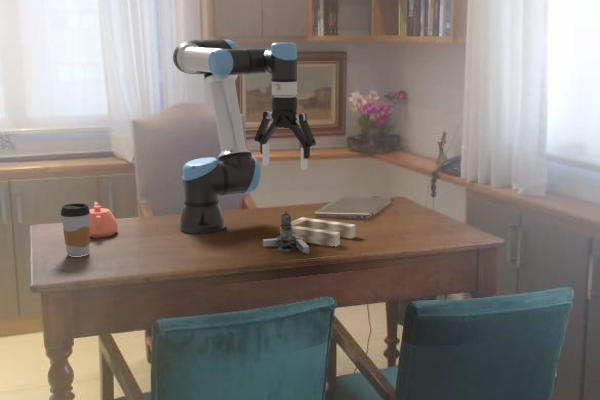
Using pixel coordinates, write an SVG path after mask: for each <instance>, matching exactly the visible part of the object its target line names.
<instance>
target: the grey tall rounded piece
mask: <svg viewBox="0 0 600 400" xmlns="http://www.w3.org/2000/svg"><path fill="white" fill-rule="evenodd" d="M280 219H281V220H280V222H281V223H280V225H279V227H280V226H281V230H280V235H279V236H277V237H276V238H277V239H278V243H279V244H280V245H281V246H278V247H277V250H278V251H279V250H280V251H281V252H292V250H293V251H295V250H294V249H296V248H295V246H293V245H295V244H294V242H295V239H296V237H295V236H292V234H291V226H292V225H291V222H292V221H291V219H292V218H291V214H289V213H288V212H287V210H285V211H284V213H283V214H281V217H280Z"/></svg>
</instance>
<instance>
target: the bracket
mask: <svg viewBox="0 0 600 400" xmlns="http://www.w3.org/2000/svg"><path fill="white" fill-rule="evenodd" d="M291 225H292V226H291V234H292V236H300V237H305V240H306V244H307V243H309V244H314V245H315V244H316V245H320V246H326V245H327V247H333V246H335V247H334V248H336V247H338V246H340V244H341V243H340V241H341V238H344V239H354V238H356V224H355V223H354V224H353V223H347V222H340V221H332V220H325V219H318V218H311V217H310V218H309V217H302V216H301V217H300V218H297V219H294V220H293V221H291ZM279 227H280V231H281V226H280V225H279Z"/></svg>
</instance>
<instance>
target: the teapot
mask: <svg viewBox="0 0 600 400" xmlns="http://www.w3.org/2000/svg"><path fill="white" fill-rule="evenodd" d="M93 205H94V206H93V208H89V211H90V213H89V227H90V237H93V238H92V239H100V238H99V237H102V238H109V237H111V236H114V235H116V233H117V231H118V229H119V228H118V222H117V219H116V218H115V216H114V214H113V213H112V211H111V210H110V209H109V208H104V207H102V206H101V205H99V203H98V202H97V201H94V203H93Z"/></svg>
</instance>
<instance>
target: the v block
mask: <svg viewBox="0 0 600 400" xmlns="http://www.w3.org/2000/svg"><path fill="white" fill-rule="evenodd" d="M295 237H296V239H295V242H294V244H293V245H296V247H297V249H298V250H299V251H300V252H301V251H302V252H303V253H306V254H309V253H310V245H308V244H307V242H306V240H305V237H300V236H295ZM280 246H281V245H280V244H279V243H278V239H277V237H275V238H266V239H265V238H263V239H262V247H264V248H270V247H271V248H273V247H280ZM302 252H301V253H302ZM308 252H309V253H308ZM303 253H302V254H303Z"/></svg>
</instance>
